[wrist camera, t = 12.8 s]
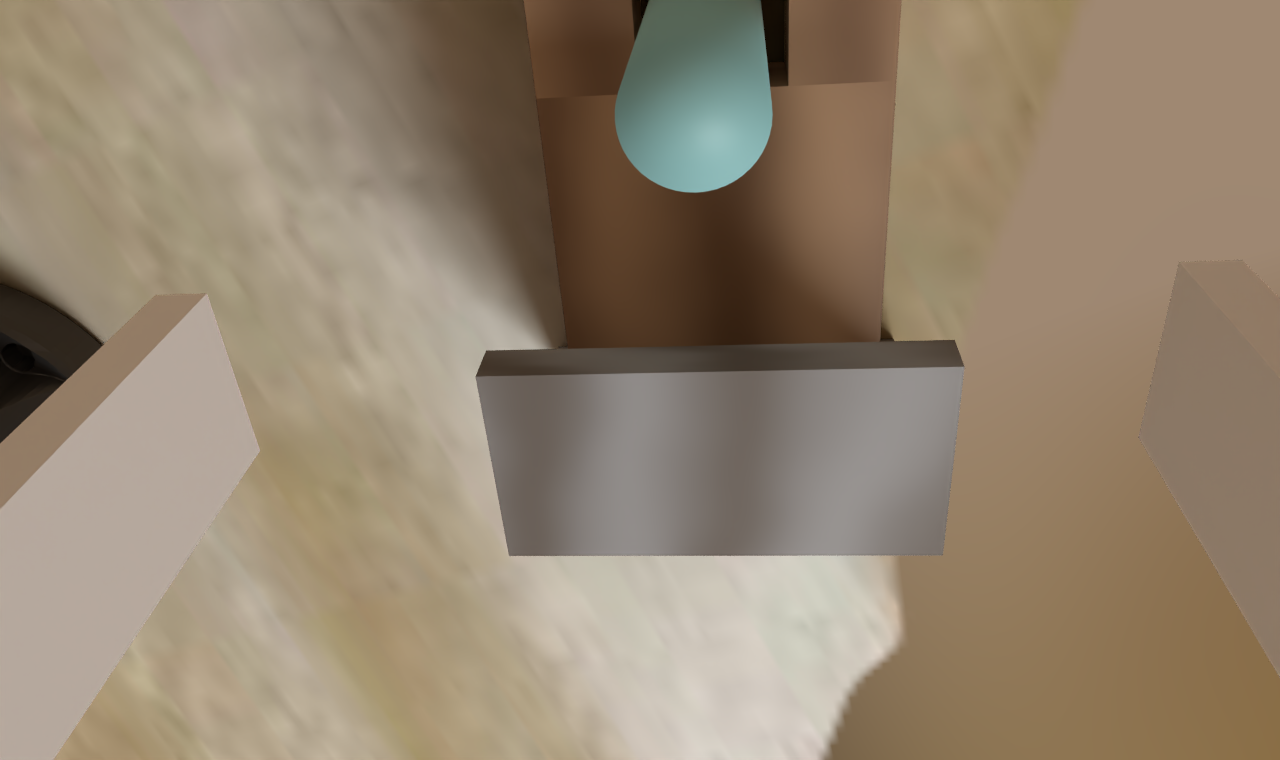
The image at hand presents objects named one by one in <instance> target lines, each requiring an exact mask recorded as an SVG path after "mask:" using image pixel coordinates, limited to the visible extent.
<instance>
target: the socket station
mask: <svg viewBox="0 0 1280 760" xmlns="http://www.w3.org/2000/svg"><path fill="white" fill-rule="evenodd" d="M524 8H525V16H526V24H527V32H528V39H529V47H530V55H531V63H532V71H533V79H534V87H535V94H536V102H537V110H538V118H539V126H540V134H541V141H542V149H543V157H544V165H545V173H546V181H547V189H548V196H549V204H550V212H551V220H552V228H553V236H554V243H555V251H556V259H557V267H558V275H559V283H560V291H561V298H562V306H563V314H564V322H565V330H566V338H567V345H568V347H559V348H558V349H540V350H496V351H486V353H485V355H484V357H483V360H482V362H481V365H480V367H479V370H478V372H477V375H476V381H477V386H478V392H479V397H480V402H481V408H482V413H483V419H484V424H485V429H486V435H487V440H488V445H489V451H490V456H491V461H492V467H493V472H494V477H495V483H496V488H497V493H498V499H499V504H500V509H501V515H502V520H503V526H504V531H505V536H506V542H507V547H508V552H509V556H798V555H943V548H944V540H945V531H946V522H947V514H948V505H949V497H950V488H951V479H952V470H953V462H954V453H955V445H956V436H957V427H958V418H959V410H960V401H961V393H962V383H963V375H964V364H963V361H962V359H961V356H960V353H959V351H958V348H957V345H956V343H955V340H934V341H894V339H880V335H881V319H882V303H883V287H884V271H885V255H886V239H887V223H888V207H889V191H890V175H891V159H892V143H893V127H894V111H895V95H896V79H897V63H898V47H899V31H900V15H901V0H785V62H777V63H768V73H769V82H770V91H771V101H772V113H773V116H772V127H771V132H770V136H769V139H768V142H767V144H766V146H765V148H764V150H763V152H762V154H761V156H760V157H759V159H758V160H757V162H756V163H755V164H754V165H753V166H752V167H751V168H750V170H748V171H747V172H746V173H745V174H744V175H743V176H741V177H740V178H738V179H737V180H735V181H734V182H732V183H730V184H728V185H726V186H724V187H721V188H718V189H715V190H711V191H706V192H696V193H695V192H681V191H675V190H672V189H668V188H666V187H663V186H661V185H658V184H657V183H655V182H653V181H651V180H650V179H648V178H647V177H646V176H644V175H643V174H642V173H641V172H640V171H639V170H638V169H637V168H635V167H634V165H633V164H632V163H631V161H630V160H629V159H628V157H627V156H626V154H625V152H624V151H623V149H622V146H621V144H620V142H619V139H618V135H617V132H616V125H615V105H616V99H617V95H618V91H619V88H620V85H621V82H622V79H623V76H624V73H625V70H626V67H627V64H628V61H629V58H630V55H631V52H632V49H633V46H634V43H635V40H636V38H637V35H638V32H639V29H640V26H641V23H642V18H641V4H640V0H524Z"/></svg>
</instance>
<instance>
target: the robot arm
mask: <svg viewBox="0 0 1280 760" xmlns="http://www.w3.org/2000/svg"><path fill="white" fill-rule="evenodd" d="M1139 439H1140V441H1141V443H1142V444H1143V446H1144V448H1145V449H1146V451H1147V453H1148V455H1149V456H1150V458H1151V460H1152V461H1153V463H1154V464H1155V466H1156V468H1157V470H1158V471H1159V473H1160V475H1161V476H1162V478H1163V480H1164V482H1165V483H1166V485H1167V487H1168V489H1169V490H1170V492H1171V493H1172V495H1173V497H1174V499H1175V500H1176V502H1177V504H1178V506H1179V507H1180V509H1181V511H1182V512H1183V514H1184V515H1185V517H1186V519H1187V521H1188V523H1189V524H1190V526H1191V528H1192V529H1193V531H1194V533H1195V534H1196V536H1197V538H1198V539H1199V541H1200V543H1201V544H1202V546H1203V548H1204V549H1205V551H1206V553H1207V555H1208V556H1209V558H1210V560H1211V562H1212V563H1213V565H1214V567H1215V568H1216V570H1217V572H1218V573H1219V575H1220V577H1221V579H1222V580H1223V582H1224V584H1225V585H1226V587H1227V589H1228V590H1229V592H1230V594H1231V596H1232V597H1233V599H1234V601H1235V602H1236V604H1237V606H1238V607H1239V609H1240V611H1241V612H1242V614H1243V616H1244V618H1245V619H1246V621H1247V623H1248V624H1249V626H1250V628H1251V630H1252V631H1253V633H1254V634H1255V636H1256V638H1257V640H1258V641H1259V643H1260V645H1261V647H1262V648H1263V650H1264V652H1265V653H1266V655H1267V657H1268V658H1269V660H1270V662H1271V664H1272V665H1273V667H1274V669H1275V670H1276V672H1277V674H1278V675H1279V677H1280V298H1279V297H1278V296H1277V295H1276V294H1275V293H1274V292H1273V291H1272V290H1271V289H1270V288H1269V287H1268V286H1267V285H1266V284H1265V283H1264V282H1263V281H1262V280H1261V279H1260V278H1259V277H1258V275H1256V273H1255V272H1253V271H1252V269H1250V267H1248V266H1247V264H1246V263H1245V262H1243V261H1242V260H1225V261H1195V262H1179V264H1178V269H1177V273H1176V277H1175V281H1174V286H1173V290H1172V295H1171V299H1170V303H1169V307H1168V312H1167V316H1166V320H1165V325H1164V330H1163V333H1162V338H1161V342H1160V346H1159V351H1158V355H1157V359H1156V364H1155V368H1154V372H1153V377H1152V381H1151V385H1150V390H1149V394H1148V398H1147V403H1146V407H1145V411H1144V416H1143V420H1142V424H1141V429H1140V434H1139ZM259 451H260V449H259V446H258V443H257V440H256V438H255V435H254V432H253V429H252V426H251V423H250V420H249V417H248V414H247V411H246V408H245V405H244V402H243V399H242V396H241V393H240V390H239V387H238V384H237V381H236V378H235V375H234V372H233V369H232V367H231V364H230V361H229V358H228V355H227V352H226V349H225V346H224V343H223V340H222V337H221V334H220V331H219V328H218V325H217V322H216V319H215V316H214V313H213V310H212V307H211V304H210V301H209V298H208V295H207V293H204V294H173V295H155V296H154V297H153V298H152V299H151V300H150V301H149V302H148V303H147V304H146V305H145V306H144V307H143V308H142V309H141V310H140V311H139V312H138V313H137V314H135V315H134V316H133V317H132V318H131V319H130V320H129V321H128V322H127V323H126V324H125V325H124V326H123V327H122V328H121V329H120V330H119V331H118V332H117V333H116V334H115V335H113V336H112V337H111V338H110V339H109V340H108V341H107V342H106V343H105V344H104V345H103V346H101V345H100V344H99V343H98V342H97V341H96V340H94V339H93V338H92V337H91V336H90V335H89V334H88V333H86V332H85V331H84V330H83V329H81V328H80V327H79V326H78V325H76V324H75V323H73V322H72V321H71V320H69V319H68V318H66V317H65V316H63V315H62V314H60V313H59V312H57V311H56V310H54V309H52V308H51V307H49V306H47V305H45V304H44V303H42V302H40V301H38V300H36V299H34V298H32V297H30V296H28V295H26V294H24V293H21V292H19V291H17V290H14V289H12V288H9V287H7V286H4V285H1V284H0V760H54V758H55V757H56V755H57V754H58V752H59V751H60V749H61V748H62V746H63V745H64V743H65V742H66V740H67V739H68V737H69V736H70V734H71V733H72V731H73V730H74V728H75V727H76V725H77V724H78V722H79V721H80V719H81V718H82V716H83V715H84V713H85V712H86V710H87V709H88V707H89V706H90V704H91V703H92V701H93V700H94V698H95V697H96V695H97V694H98V692H99V691H100V689H101V688H102V686H103V685H104V683H105V682H106V680H107V679H108V677H109V676H110V674H111V673H112V671H113V670H114V668H115V667H116V665H117V664H118V662H119V661H120V659H121V658H122V656H123V655H124V653H125V652H126V650H127V649H128V647H129V646H130V644H131V643H132V641H133V640H134V638H135V637H136V635H137V634H138V632H139V631H140V629H141V628H142V626H143V625H144V623H145V622H146V620H147V619H148V617H149V616H150V614H151V613H152V612H153V610H154V609H155V607H156V606H157V604H158V603H159V601H160V600H161V598H162V597H163V595H164V594H165V592H166V591H167V589H168V588H169V586H170V585H171V583H172V582H173V580H174V579H175V577H176V576H177V574H178V573H179V571H180V570H181V568H182V567H183V565H184V564H185V562H186V561H187V559H188V558H189V556H190V555H191V553H192V552H193V550H194V549H195V547H196V546H197V544H198V543H199V541H200V540H201V538H202V537H203V535H204V534H205V532H206V531H207V529H208V528H209V526H210V525H211V523H212V522H213V520H214V519H215V517H216V516H217V514H218V513H219V511H220V510H221V508H222V507H223V505H224V504H225V502H226V501H227V499H228V498H229V496H230V495H231V493H232V492H233V490H234V489H235V487H236V486H237V484H238V483H239V481H240V480H241V478H242V477H243V475H244V474H245V472H246V471H247V469H248V468H249V466H250V465H251V463H252V462H253V460H254V459H255V457H256V456H257V454H258V453H259Z"/></svg>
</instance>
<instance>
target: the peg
mask: <svg viewBox="0 0 1280 760" xmlns="http://www.w3.org/2000/svg"><path fill="white" fill-rule="evenodd" d="M772 116H773V113H772V101H771V91H770V82H769V73H768V63H767V54H766V45H765V35H764V26H763V17H762V7H761V0H649V2H648V5H647V8H646V11H645V14H644V17H643V20H642V23H641V26H640V29H639V32H638V35H637V38H636V40H635V43H634V46H633V49H632V52H631V55H630V58H629V61H628V64H627V67H626V70H625V73H624V76H623V79H622V82H621V85H620V88H619V91H618V95H617V99H616V105H615V125H616V132H617V135H618V139H619V142H620V144H621V146H622V149H623V151H624V152H625V154H626V156H627V157H628V159H629V160H630V161H631V163H632V164H633V165H634V167H635V168H637V169H638V170H639V171H640V172H641V173H642V174H643V175H644V176H646V177H647V178H648V179H650V180H651V181H653V182H655V183H657V184H658V185H661V186H663V187H666V188H668V189H672V190H675V191H681V192H695V193H696V192H706V191H711V190H715V189H718V188H721V187H724V186H726V185H728V184H730V183H732V182H734V181H735V180H737V179H738V178H740V177H741V176H743V175H744V174H745V173H746V172H747V171H748V170H750V168H751V167H752V166H753V165H754V164H755V163H756V162H757V160H758V159H759V157H760V156H761V154H762V152H763V150H764V148H765V146H766V144H767V142H768V139H769V136H770V132H771V127H772Z"/></svg>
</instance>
